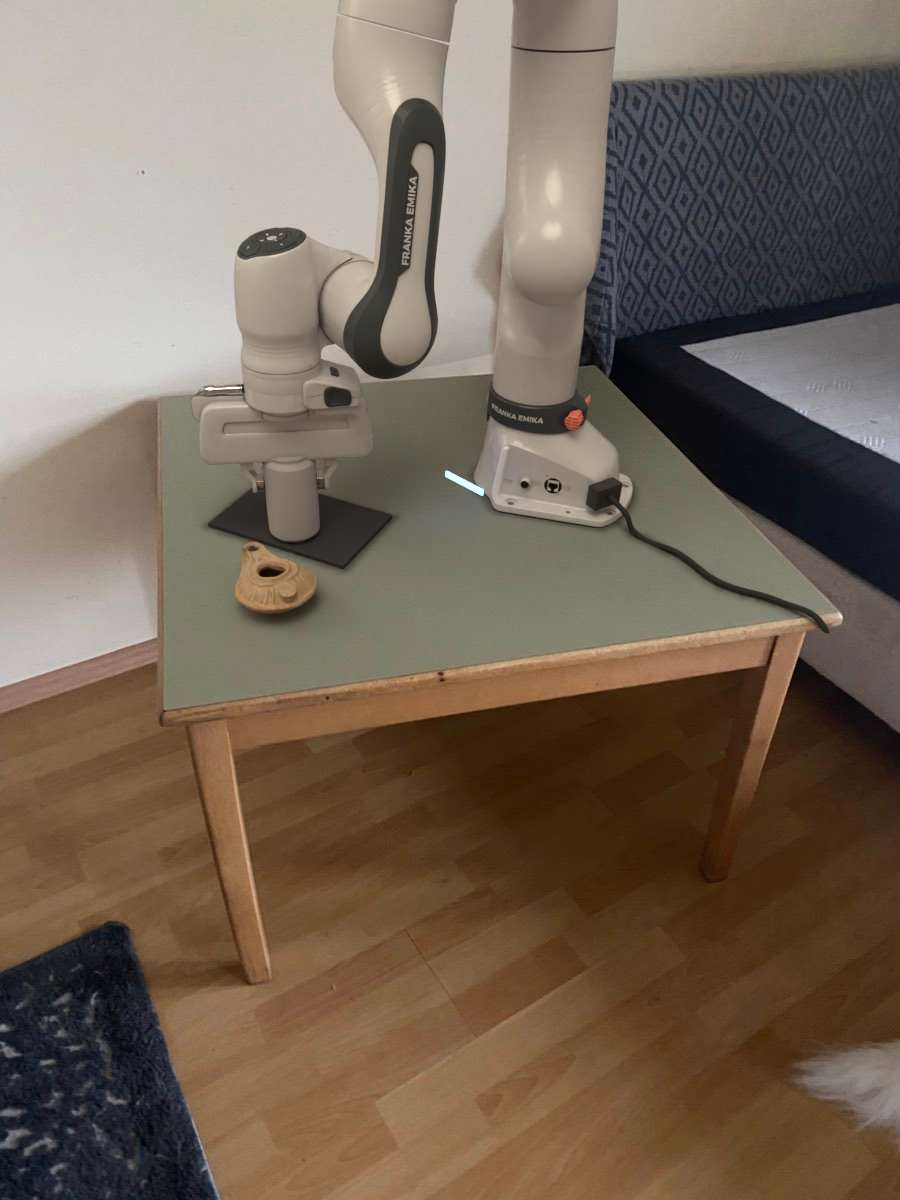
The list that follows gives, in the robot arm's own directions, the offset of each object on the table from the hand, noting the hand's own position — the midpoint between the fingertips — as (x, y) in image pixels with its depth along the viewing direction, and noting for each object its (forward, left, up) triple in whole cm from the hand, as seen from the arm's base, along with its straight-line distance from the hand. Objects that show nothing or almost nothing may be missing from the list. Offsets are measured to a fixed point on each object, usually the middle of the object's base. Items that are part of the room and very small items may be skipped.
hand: (291, 488), depth 107 cm
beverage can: (0, 0, -7) cm, 7 cm away
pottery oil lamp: (-5, +11, -7) cm, 14 cm away
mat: (+1, -3, -7) cm, 8 cm away
